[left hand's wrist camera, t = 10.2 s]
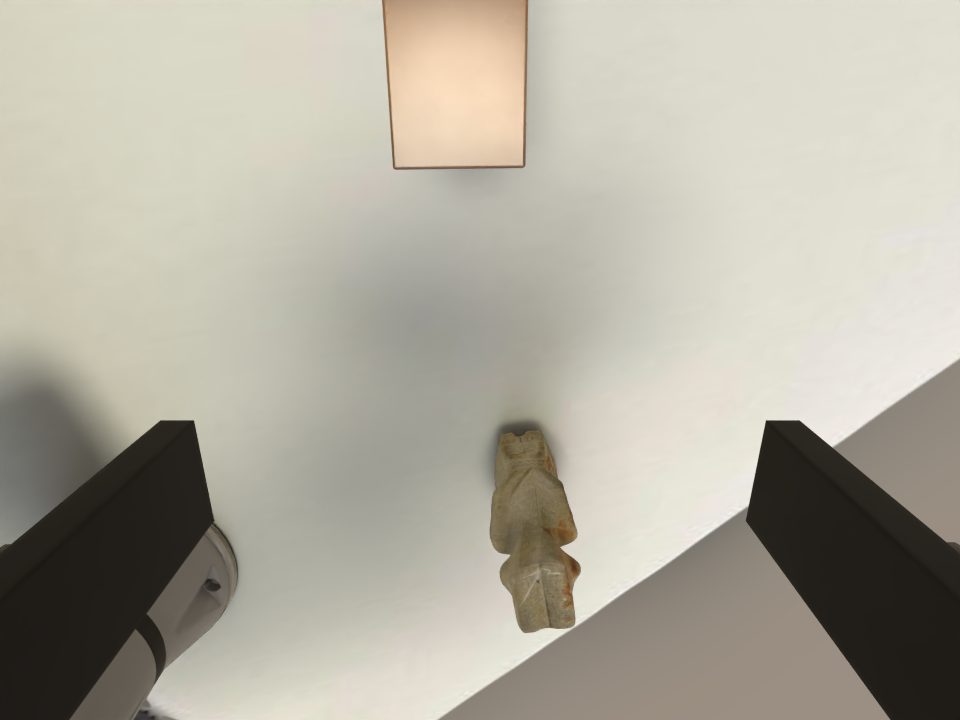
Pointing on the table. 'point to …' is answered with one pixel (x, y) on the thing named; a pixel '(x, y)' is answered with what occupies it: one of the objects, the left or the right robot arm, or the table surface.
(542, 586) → the sculpture
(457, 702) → the table surface
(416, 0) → the bar
